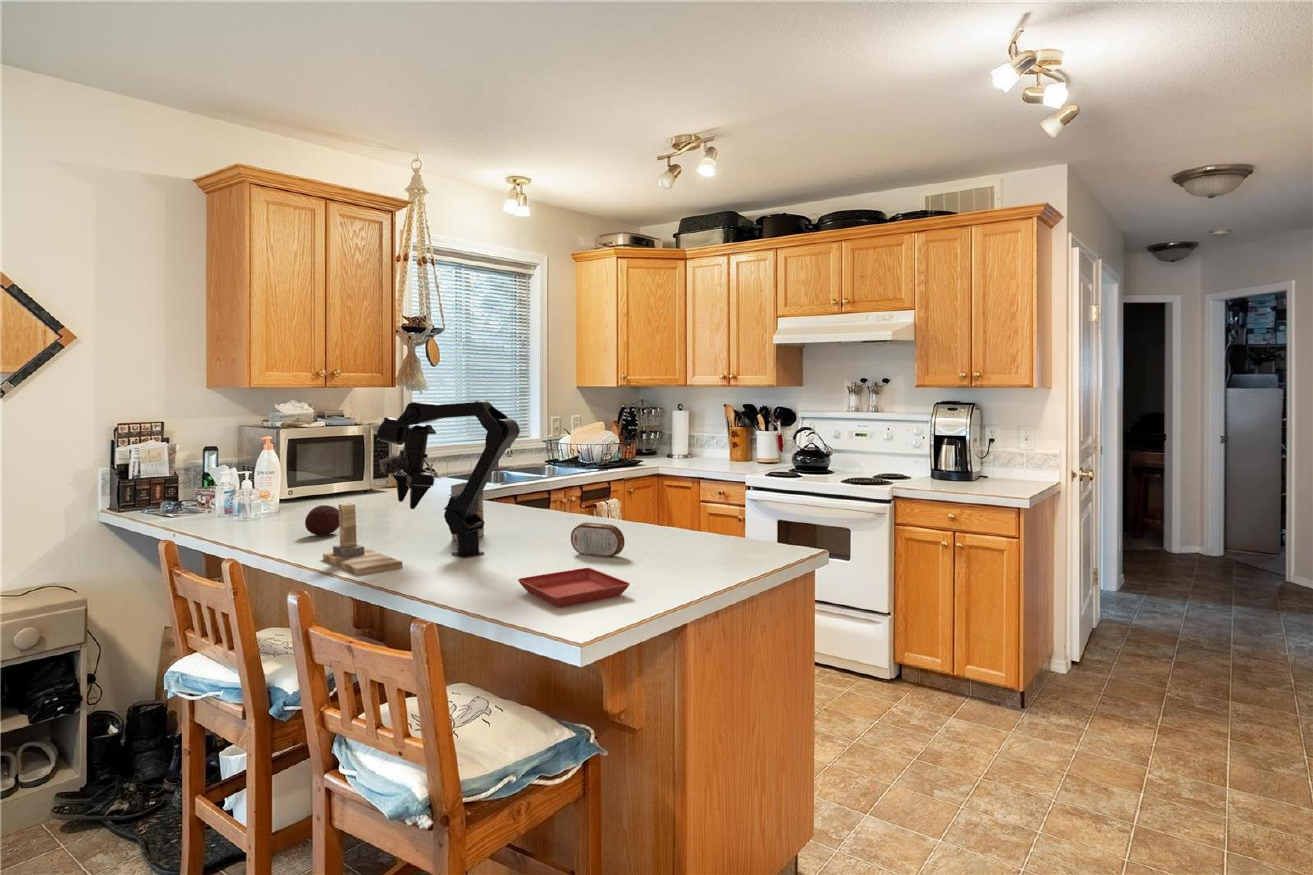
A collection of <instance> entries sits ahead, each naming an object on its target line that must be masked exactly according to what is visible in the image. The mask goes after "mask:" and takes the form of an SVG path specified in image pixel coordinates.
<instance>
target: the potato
mask: <svg viewBox="0 0 1313 875" xmlns="http://www.w3.org/2000/svg"><path fill="white" fill-rule="evenodd" d="M304 525H305V528H306V530H307V531H308V532H309V533H310V534H312V535H315V536H319V537H320V536H327V535H330V534H332V533H334V532H336V531H337V530H338V529H339V508H336V507H335V506H332V505H328V504H327V505H326V504H325V505H318V506H315V507H314V508H312V509H311V510H310V511H309V512H308V514H307V515H306V517H305V521H304Z"/></svg>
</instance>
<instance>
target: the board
mask: <svg viewBox="0 0 1313 875" xmlns="http://www.w3.org/2000/svg"><path fill="white" fill-rule="evenodd" d="M323 559H324V560H323ZM322 560H323V561H325V560H326V562H328V563H330V564H332V563H333V564H332V565H334V564H335V566H337V567H339V568H342V569H343V570H345V571H348V572H350V573H352V574H355V575H356V576H361V575H368V574H372V573H373V574H375V573H379V572H386V571H390V570H396V569H402V568H403V561H401V560H399V559H396V558H393V557H390V556H388V555H385V554H382V553H380V552H377V551H375V550H372V549H369V548H367V547H364V554H363V555H357V556H352V557H342V556H339V555H335V554H333V551H332V552H325V553H322Z"/></svg>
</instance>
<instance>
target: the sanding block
mask: <svg viewBox="0 0 1313 875" xmlns="http://www.w3.org/2000/svg"><path fill="white" fill-rule="evenodd" d="M338 510H339V527H338V529H339V545H332V552H333V554H335V555H339V556H342V557H352V556H357V555H363V554H364V548H365V546H363V545H360V544H357V519H356V504H355V503H352V502H351V503H349V502H348V503H341V504H338Z"/></svg>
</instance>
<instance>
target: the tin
mask: <svg viewBox="0 0 1313 875" xmlns="http://www.w3.org/2000/svg"><path fill="white" fill-rule="evenodd" d="M570 542H571V543H570V544H571V546H572V547H573V549H574V550H575V552H577V553H578V554H580V555H583V556H590V557H591V556H593V557H601V558H602V557H603V558H612V557H615V556H617V555H619V554H620V553H622V551H624V550H623V549H624V547H625V536H624V535H623V532H622V530H621V529H620V528H619V527H617V526H616V525H613V524H605V523H597V522H596V523H594V522H583V523H580V524H578V525H577V526H575V527H574V528H573V530H572V531H571V534H570Z"/></svg>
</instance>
